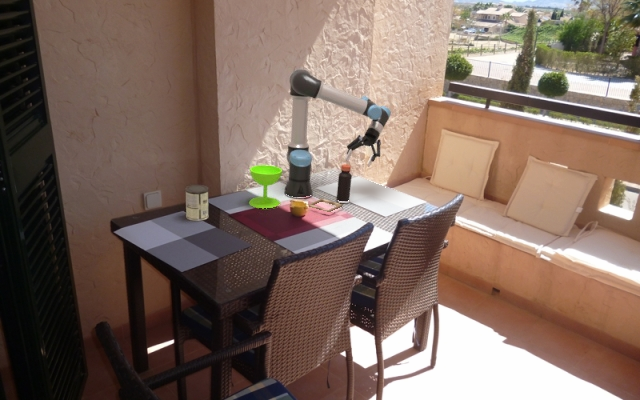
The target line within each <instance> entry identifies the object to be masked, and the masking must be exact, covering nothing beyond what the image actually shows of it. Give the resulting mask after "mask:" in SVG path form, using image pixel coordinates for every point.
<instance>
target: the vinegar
mask: <svg viewBox="0 0 640 400" xmlns="http://www.w3.org/2000/svg"><path fill="white" fill-rule="evenodd" d="M340 168H341V169H340V170H341V171H340V172H339V174H338V179H337V191H336V200H339V201H348V200H349V201H350V197H351V196H350V195H351V186H352V185H351V184H352V174H351V173H350V172H351V168H352V166H351V165H350V164H341V167H340Z"/></svg>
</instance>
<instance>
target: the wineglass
mask: <svg viewBox="0 0 640 400" xmlns="http://www.w3.org/2000/svg"><path fill="white" fill-rule="evenodd" d="M249 170H250V171H249V173H250V177H251V178H252V180H253V181H254V182H255V183H256V184H258V185H261V186H263V193H262V195H263V196H258V197H253V198H251V199H250V200H249V202H248V204H249V206H251V207H252V206H253V208H255V207H256V209H259V208H262V209H261V210H268V209H267V208H273V207H276V206H278V205H279V204H280V205H281V202H280V201H279V200H278V199H277V198H274V197H271V196H268V186H272V185H274V184H276V183H277V182H278V181H279V180H280V178H281V176H282V174H283V169H282V168H280V167H278V166H274V165H266V164H265V165H264V164H261V165H253V166H251V167H250V168H249ZM264 208H266V209H264ZM273 209H274V208H273Z"/></svg>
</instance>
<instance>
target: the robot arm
mask: <svg viewBox="0 0 640 400" xmlns="http://www.w3.org/2000/svg"><path fill="white" fill-rule="evenodd" d="M289 84H290V85H289V86H290V87H289V89H290V90H289V96H290V97H291V98H292V107H291V108H292V109H291V111H292V112H291V129H290V130H291V132H290V142H289V143H288V144H287V153H286V161H287V162H288V181H287V183H286V186H285V188H284V194H285V193H286V194H287V195H289V196H293V197H306V196H310V195H312V196H313V189H312V184H311V174H312V173H311V172H312V163H313V161H312V160H313V156H312V153H311V152H310V148H309V147H310V145H309V144H308V143H307V136H308V120H309V99H310V98H312V99H314V100H316V99H320V100H323V101H325V102H329V103H331V104H333V105H337V106H339V107H340V108H341V107H342V108H344V109H347V110H349V111H352V112H355V113H357V114H360V115H362V116H364V117H367V118H369V119H371V122H370V124H369V126H368V127H367V129H366V131H365V132H364V136H361V135H360V134H359V135H358V136H357V137H356V138H355V139H353V141H351V142H350V143H348V145H346V148H347V152H346V156H345V157H344V160H345V161H346V162H349V160H350V158H351V156H352V154H353V151H355V150H356V149H359V148H361V147H363V146H366V147H369V148H370V147H371V151H372V154H371V155H370V157H369V159H368V161H367V162H366V166H367V167H368V168H370V167H371V165H372V162H375V160H376V158H377V157H378V158H380V157H381V145H382V141H381V139H379V137H380V136H381V133H382V132H383V130H384V128H385V126H386V124H387V122H388V121H389V119H390V116H391V113H392V112H391V109H390V108H388V107H386V106H384V105H382V106H380V105H378V104H376V103H375V102H374V101H372V100H371V99H370V98H369V97H367V96H366V95H364V96H362V97H361V98H360V97H358V96H355V95H352V94H351V93H348V92H346V91H342V90H340V89H338V88H335V87H333V86H330V85H328V84H324V82H323V81H322V80H321V79H319V78H317V77H314V76H313V75H312V74H311V73H310V72H309V70H306V69H302V68H301V69H296V70H294V71H293V72H292V73H291V74H290V77H289ZM375 144H376V149H375V146H374V145H375Z"/></svg>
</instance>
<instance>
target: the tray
mask: <svg viewBox="0 0 640 400" xmlns="http://www.w3.org/2000/svg"><path fill="white" fill-rule="evenodd" d="M319 202H325V203H329V204H332V205H336V207H334V208H331V209H329V210H327V209H324V208H320V207H317V206H314V205H315V204H317V203H319ZM307 205H309V207H312V208H316V209H319V210H323V211H327V212H331V211H333V210H335V209H338V208H340V207H342V206H343V205H344V204H340V203H338V202H337V201H336V202H335V201H331V200H328V199H325V198H318V199H317V200H315V201H312V202H310V203H308V204H307ZM343 207H344V206H343ZM343 207H342V208H343Z"/></svg>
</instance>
